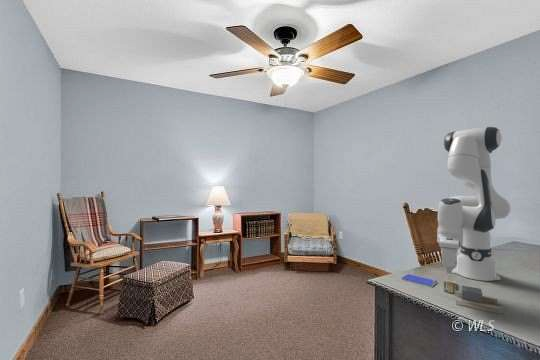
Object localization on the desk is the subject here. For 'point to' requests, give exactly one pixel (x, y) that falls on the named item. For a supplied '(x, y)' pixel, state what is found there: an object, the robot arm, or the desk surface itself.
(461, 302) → the cradle
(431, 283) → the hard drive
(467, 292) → the block
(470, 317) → the desk surface
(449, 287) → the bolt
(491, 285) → the desk surface
